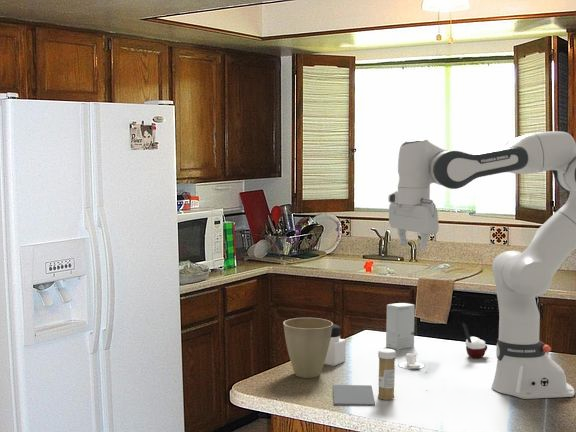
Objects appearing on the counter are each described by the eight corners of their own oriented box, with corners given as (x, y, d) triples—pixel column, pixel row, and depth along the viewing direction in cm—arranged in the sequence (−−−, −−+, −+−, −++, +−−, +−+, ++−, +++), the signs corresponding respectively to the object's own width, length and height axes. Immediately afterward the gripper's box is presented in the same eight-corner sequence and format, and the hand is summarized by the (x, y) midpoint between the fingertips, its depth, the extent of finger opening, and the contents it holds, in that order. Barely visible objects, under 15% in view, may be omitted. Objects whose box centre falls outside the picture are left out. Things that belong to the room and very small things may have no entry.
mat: (371, 387, 242) (371, 385, 242) (375, 405, 225) (375, 403, 225) (333, 386, 242) (333, 384, 242) (333, 405, 225) (333, 403, 225)
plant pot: (276, 379, 250) (276, 326, 248) (291, 366, 264) (291, 316, 262) (325, 383, 245) (325, 329, 243) (337, 370, 259) (338, 319, 258)
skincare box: (397, 350, 284) (397, 306, 283) (384, 346, 289) (385, 304, 287) (415, 346, 289) (415, 304, 287) (402, 343, 294) (403, 301, 292)
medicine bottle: (345, 361, 270) (346, 324, 269) (334, 366, 264) (335, 328, 263) (326, 358, 274) (326, 321, 273) (315, 362, 268) (315, 325, 267)
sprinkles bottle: (376, 395, 233) (377, 348, 232) (392, 395, 234) (393, 347, 233) (379, 400, 229) (380, 352, 228) (396, 400, 229) (397, 352, 228)
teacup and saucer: (420, 372, 259) (421, 359, 259) (395, 369, 262) (395, 356, 261) (426, 364, 267) (426, 352, 267) (401, 362, 270) (401, 350, 270)
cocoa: (485, 354, 278) (486, 319, 277) (491, 359, 272) (492, 323, 271) (457, 355, 278) (458, 319, 277) (462, 360, 271) (463, 323, 270)
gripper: (444, 199, 225) (443, 251, 227) (403, 195, 244) (403, 242, 245) (424, 200, 223) (424, 252, 224) (385, 195, 241) (384, 243, 243)
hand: (412, 247), depth 235 cm, fingers open, 8 cm apart
